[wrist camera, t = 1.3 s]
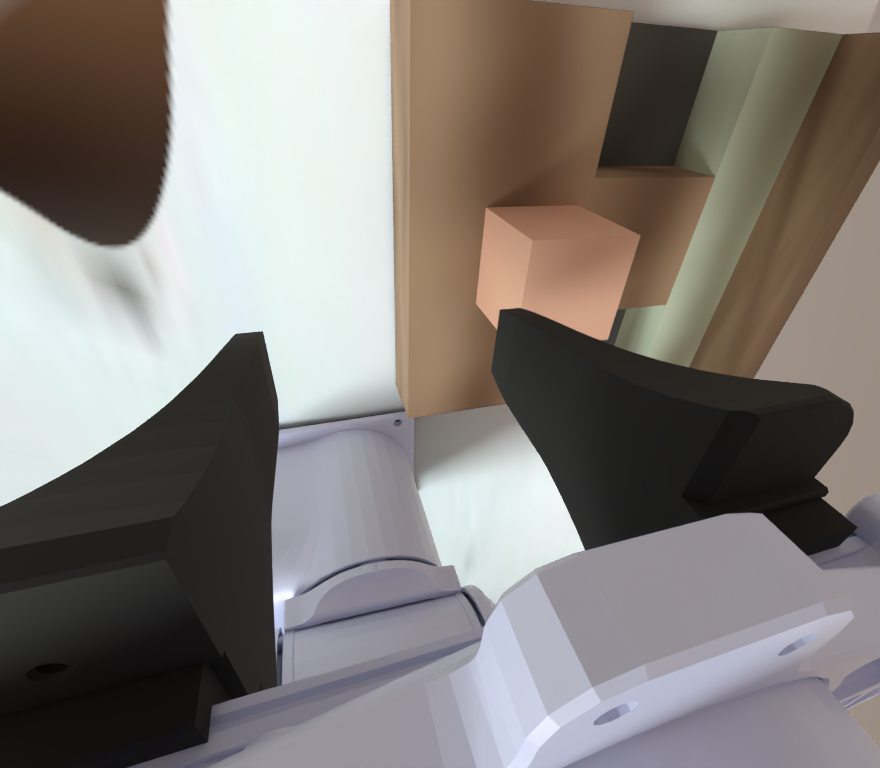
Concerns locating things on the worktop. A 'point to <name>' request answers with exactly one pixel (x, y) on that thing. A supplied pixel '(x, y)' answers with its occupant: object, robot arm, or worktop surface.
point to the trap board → (619, 173)
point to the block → (555, 265)
